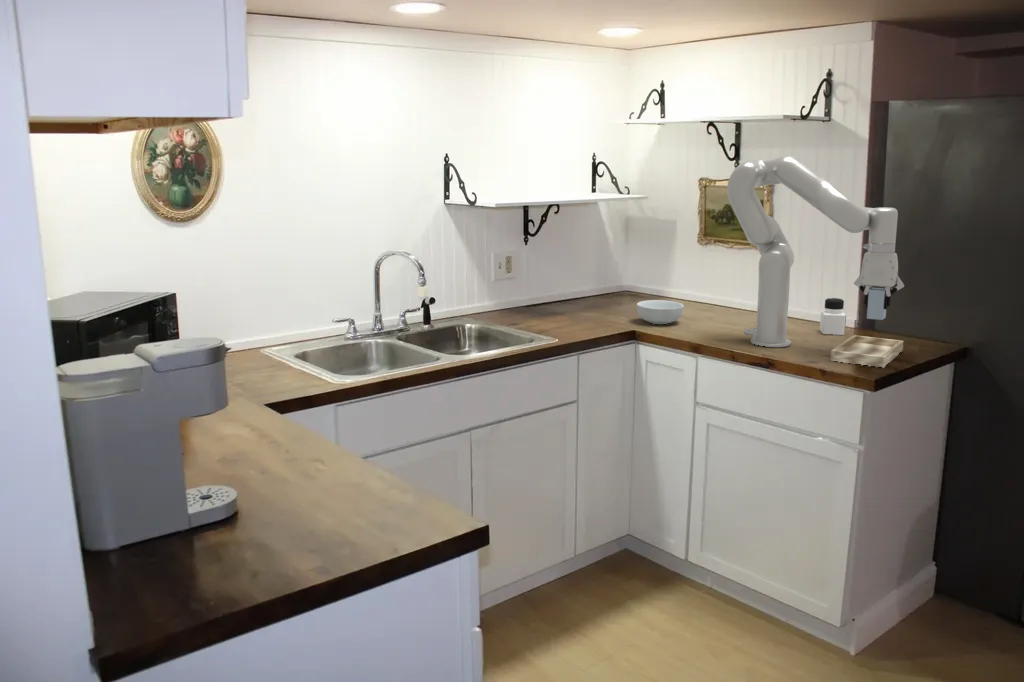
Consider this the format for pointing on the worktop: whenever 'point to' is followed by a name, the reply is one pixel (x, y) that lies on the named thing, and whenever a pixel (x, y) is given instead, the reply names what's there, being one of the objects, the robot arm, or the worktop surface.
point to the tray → (867, 351)
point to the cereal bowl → (660, 311)
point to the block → (876, 304)
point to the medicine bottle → (833, 317)
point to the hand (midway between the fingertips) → (877, 307)
